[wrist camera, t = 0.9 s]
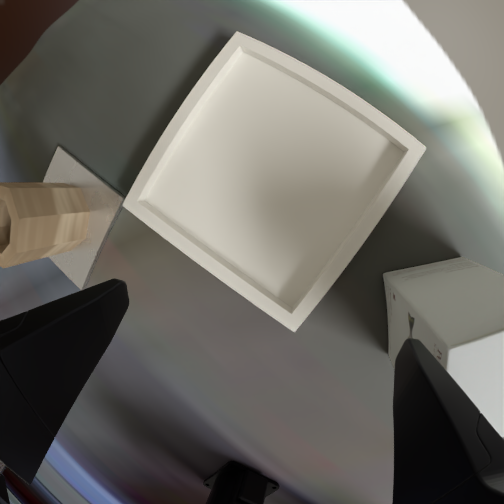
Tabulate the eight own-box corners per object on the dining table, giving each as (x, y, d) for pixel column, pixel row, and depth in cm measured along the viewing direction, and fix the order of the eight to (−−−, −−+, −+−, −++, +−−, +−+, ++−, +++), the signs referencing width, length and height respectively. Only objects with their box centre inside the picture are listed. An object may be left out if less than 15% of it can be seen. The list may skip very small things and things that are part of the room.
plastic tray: (295, 322, 24) (294, 332, 22) (135, 204, 24) (122, 205, 22) (417, 151, 20) (426, 147, 18) (242, 42, 21) (236, 31, 19)
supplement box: (379, 270, 22) (447, 343, 10) (463, 254, 20) (568, 300, 8) (385, 357, 23) (427, 468, 10) (463, 338, 21) (538, 422, 9)
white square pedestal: (85, 288, 27) (46, 305, 21) (29, 230, 27) (-9, 237, 22) (126, 198, 24) (85, 199, 19) (62, 146, 25) (21, 141, 20)
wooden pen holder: (83, 256, 26) (15, 276, 17) (43, 238, 26) (-21, 251, 18) (94, 192, 24) (22, 193, 16) (52, 179, 25) (-15, 179, 17)
